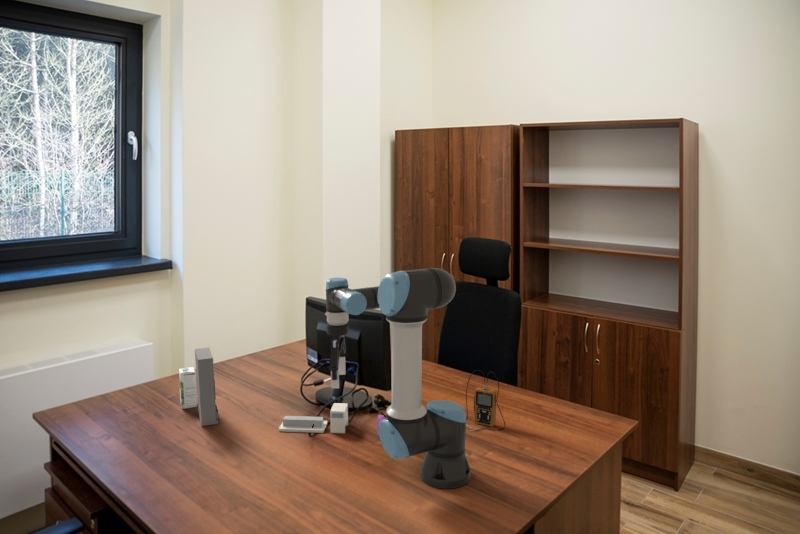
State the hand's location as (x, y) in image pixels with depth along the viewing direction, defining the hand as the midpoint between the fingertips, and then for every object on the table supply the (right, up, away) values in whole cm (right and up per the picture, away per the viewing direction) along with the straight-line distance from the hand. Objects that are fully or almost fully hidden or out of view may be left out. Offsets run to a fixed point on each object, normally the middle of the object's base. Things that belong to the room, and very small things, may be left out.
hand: (338, 381), depth 229 cm
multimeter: (+51, -17, +3) cm, 54 cm away
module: (0, -17, +3) cm, 18 cm away
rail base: (-13, -17, +4) cm, 22 cm away
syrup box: (-60, -14, +24) cm, 66 cm away
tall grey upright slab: (-49, -16, +12) cm, 53 cm away
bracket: (+18, -18, +2) cm, 26 cm away
